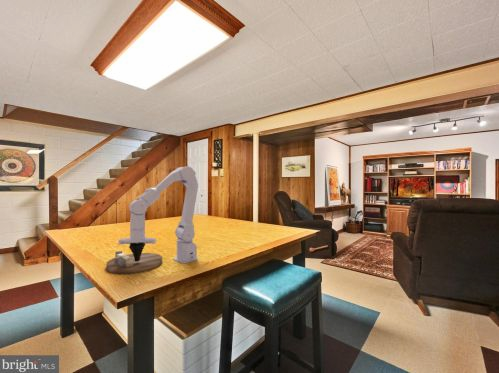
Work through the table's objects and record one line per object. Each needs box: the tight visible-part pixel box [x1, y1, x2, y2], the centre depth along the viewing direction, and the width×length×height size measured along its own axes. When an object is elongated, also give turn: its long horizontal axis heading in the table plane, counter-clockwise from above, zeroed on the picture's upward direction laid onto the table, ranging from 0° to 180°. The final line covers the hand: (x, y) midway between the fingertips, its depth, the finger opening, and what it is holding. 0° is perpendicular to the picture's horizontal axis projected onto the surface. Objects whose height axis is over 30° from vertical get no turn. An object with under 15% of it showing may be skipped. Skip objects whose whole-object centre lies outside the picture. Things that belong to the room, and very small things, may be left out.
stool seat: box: [105, 252, 163, 275], centre depth 103 cm, size 22×22×5 cm
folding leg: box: [114, 250, 133, 267], centre depth 99 cm, size 13×3×4 cm, turn 48°
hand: (137, 260), depth 100 cm, fingers closed
